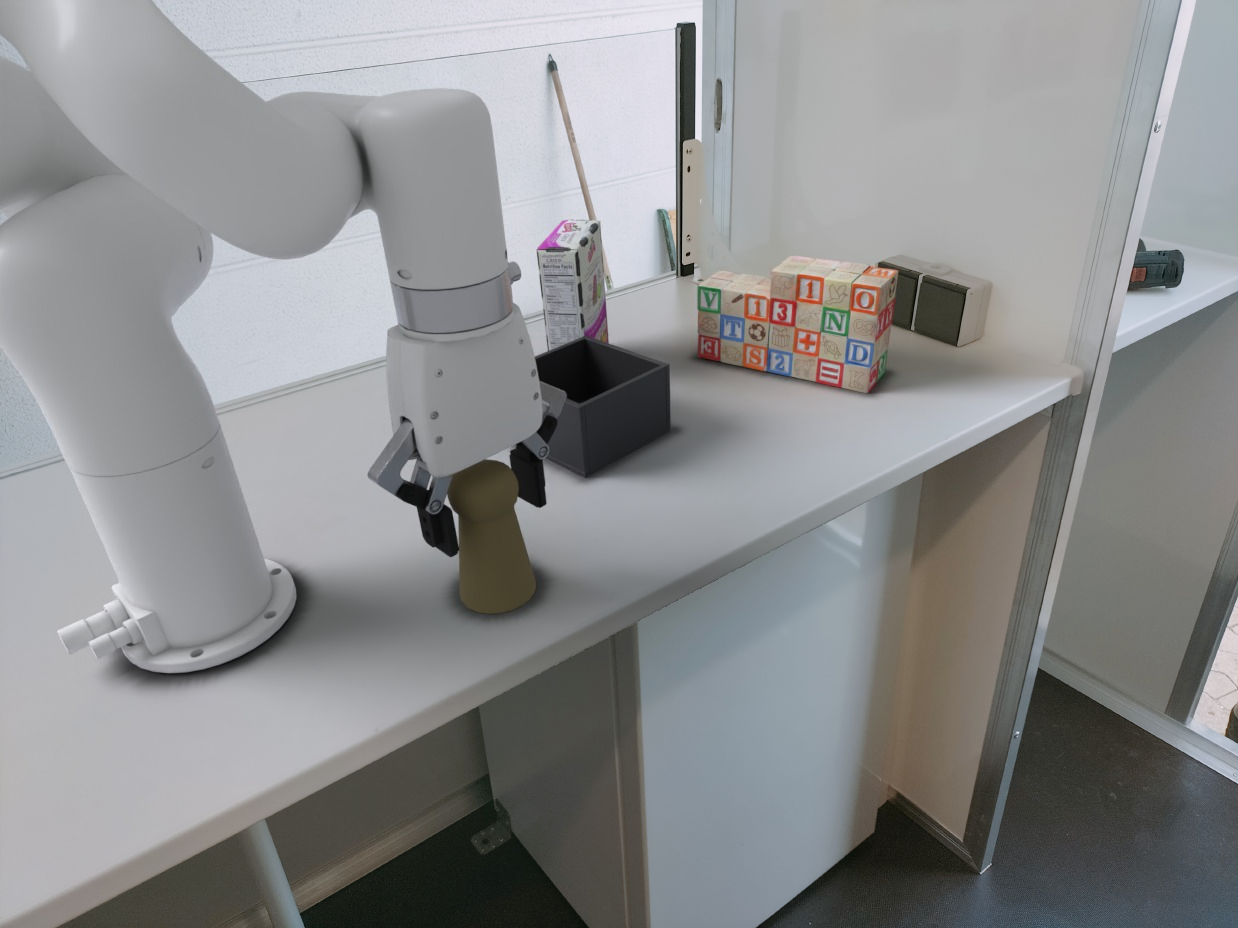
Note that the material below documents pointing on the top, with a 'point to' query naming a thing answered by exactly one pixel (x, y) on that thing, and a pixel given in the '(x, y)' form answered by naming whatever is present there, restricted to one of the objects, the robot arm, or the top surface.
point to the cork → (490, 539)
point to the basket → (604, 402)
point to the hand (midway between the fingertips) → (488, 522)
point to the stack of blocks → (801, 320)
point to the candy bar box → (573, 283)
